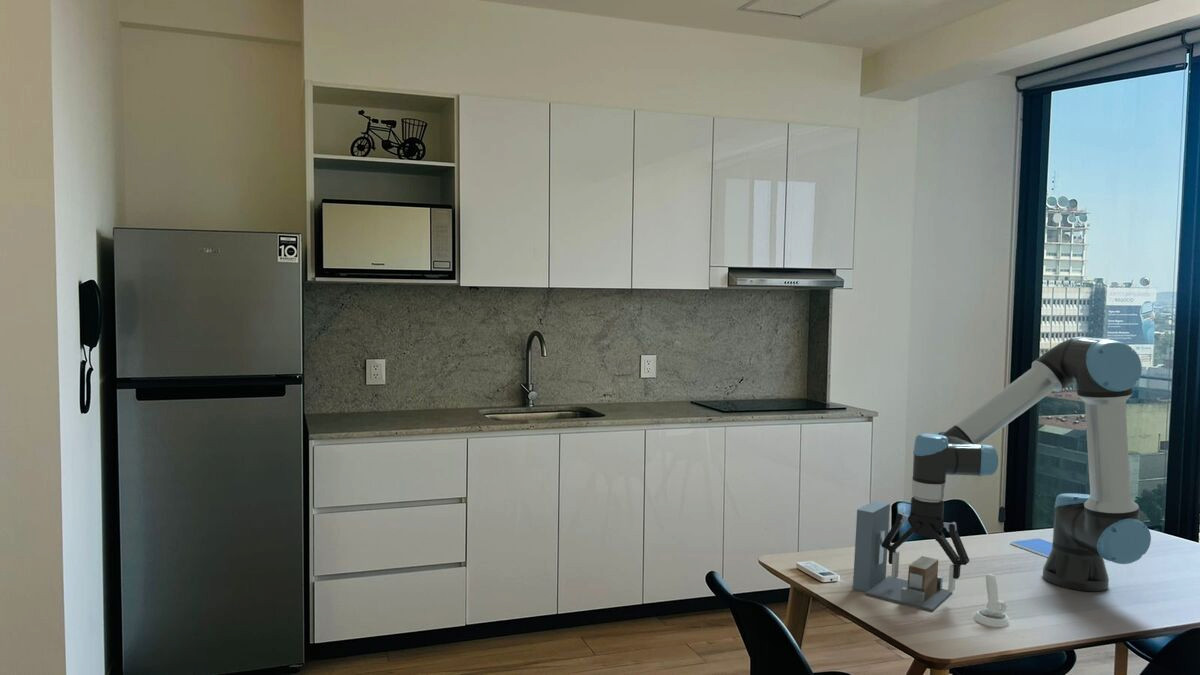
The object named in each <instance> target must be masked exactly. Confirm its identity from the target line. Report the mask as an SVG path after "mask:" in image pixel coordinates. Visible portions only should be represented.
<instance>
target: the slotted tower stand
mask: <svg viewBox="0 0 1200 675" xmlns="http://www.w3.org/2000/svg"><path fill="white" fill-rule="evenodd" d="M890 509H891V503H888V502H884V501H883V502H882V501H878V500H873V501H871V502H870V503H868V504H866V505H863V506H862V507H860V508H857V511H856V521H855V522H856V523H855V525H856V526H855V541H854V543H855V544H854V559H853V561H854V562H853V581H852V590H857V591H860V592H865V596H868V597H871V598H877V599H880V600H885V601H888V602H892V603H896V604H900V605H905V606H908V607H912V608H917V609H920V610H924V611H928V612H934V611H935V610H936V609H938V608H939V607H940V606H941V604H943V603H944V602H945V601H946V600H947V599H949V597H950V596H951V595H952V594H953V592H952V593H950V592H948V589H946V588H943V580H944V576H940V575H938V576H937V591H936V592H935V593H934V594H933V595H932V596H931V597H929V598H928V599H927V600H926V601H925V602H924V594H925V592H921V591H917V590H913V589H909V588H908V579H902V578H898V577H897V578H895V579H891V575H890V576H889V575H888V576H887V562H888V549H886V548H883V547H882V543H883V541H884V540H885V538H886V536H887V535H888V533H889V531H890V530H889V529H890V528H889V527H890V526H889V525H890V524H889V523H890Z"/></svg>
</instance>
